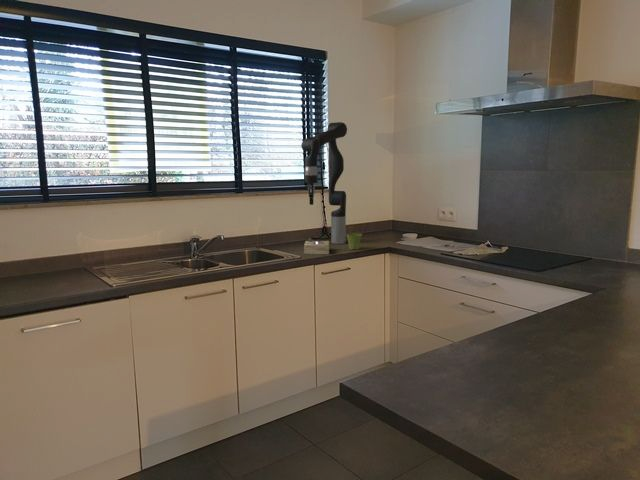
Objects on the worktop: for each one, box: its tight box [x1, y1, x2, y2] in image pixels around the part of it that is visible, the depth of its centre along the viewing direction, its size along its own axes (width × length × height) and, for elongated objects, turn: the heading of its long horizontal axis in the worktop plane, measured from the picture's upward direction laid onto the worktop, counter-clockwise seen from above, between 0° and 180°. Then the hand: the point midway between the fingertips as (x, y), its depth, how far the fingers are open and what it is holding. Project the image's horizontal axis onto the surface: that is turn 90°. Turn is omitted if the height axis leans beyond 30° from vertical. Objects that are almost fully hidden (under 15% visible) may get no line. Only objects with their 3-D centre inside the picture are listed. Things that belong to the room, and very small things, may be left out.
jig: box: [303, 237, 330, 255], centre depth 271 cm, size 16×14×7 cm
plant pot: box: [346, 233, 363, 250], centre depth 278 cm, size 9×9×9 cm
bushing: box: [314, 240, 323, 244], centre depth 271 cm, size 4×4×6 cm
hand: (311, 204), depth 271 cm, fingers closed
